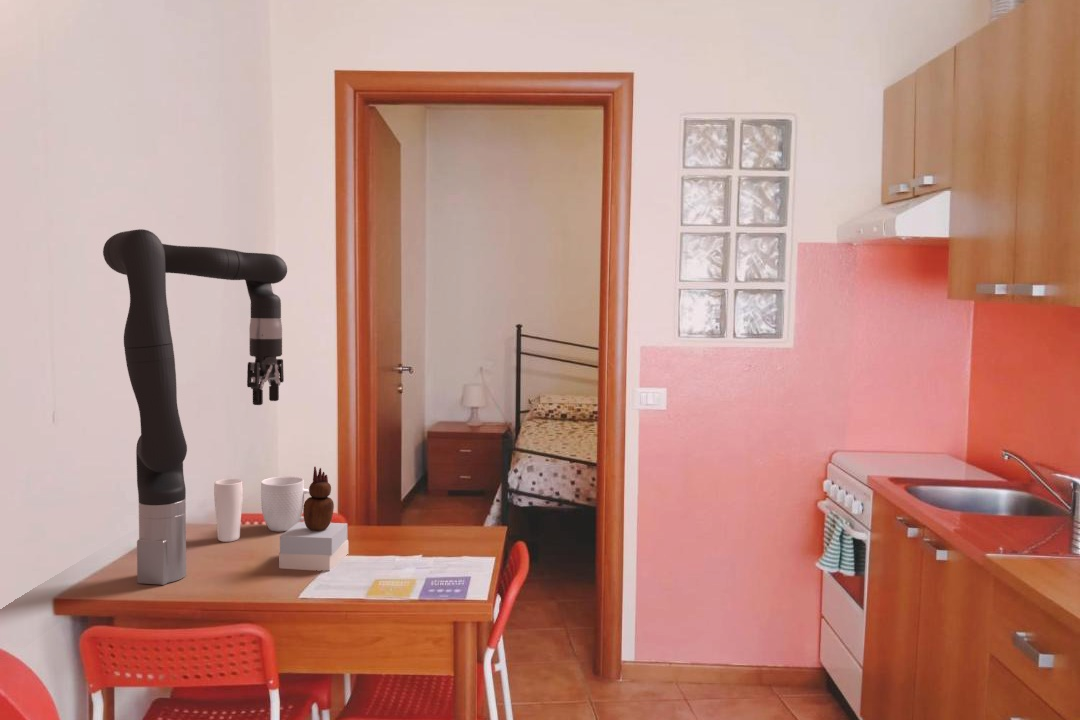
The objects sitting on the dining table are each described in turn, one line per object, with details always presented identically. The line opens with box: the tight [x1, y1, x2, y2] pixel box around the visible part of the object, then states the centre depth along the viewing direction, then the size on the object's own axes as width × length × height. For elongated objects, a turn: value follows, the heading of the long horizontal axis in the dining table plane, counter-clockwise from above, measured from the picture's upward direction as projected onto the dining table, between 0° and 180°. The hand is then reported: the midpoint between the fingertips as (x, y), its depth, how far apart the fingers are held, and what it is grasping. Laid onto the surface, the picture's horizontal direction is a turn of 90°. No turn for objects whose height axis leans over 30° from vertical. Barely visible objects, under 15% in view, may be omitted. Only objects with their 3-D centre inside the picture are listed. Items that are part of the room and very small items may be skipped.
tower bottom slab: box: [278, 539, 349, 572], centre depth 181 cm, size 12×12×4 cm
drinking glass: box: [213, 478, 244, 543], centre depth 195 cm, size 7×7×15 cm
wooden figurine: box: [302, 466, 335, 530], centre depth 180 cm, size 7×6×15 cm
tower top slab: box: [279, 521, 348, 555], centre depth 180 cm, size 12×12×4 cm
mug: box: [260, 475, 309, 533], centre depth 206 cm, size 15×11×13 cm
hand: (266, 402), depth 188 cm, fingers open, 8 cm apart
